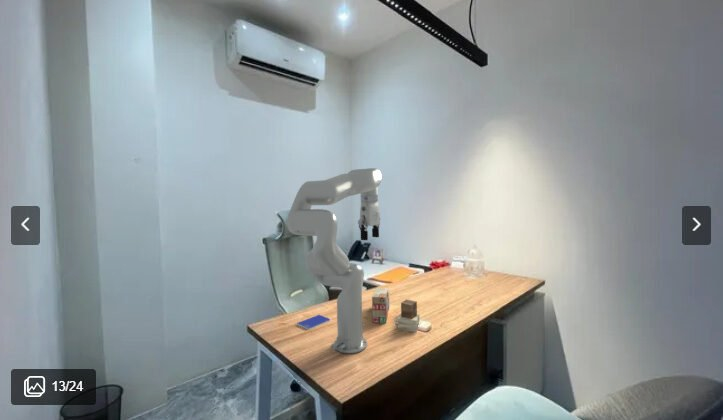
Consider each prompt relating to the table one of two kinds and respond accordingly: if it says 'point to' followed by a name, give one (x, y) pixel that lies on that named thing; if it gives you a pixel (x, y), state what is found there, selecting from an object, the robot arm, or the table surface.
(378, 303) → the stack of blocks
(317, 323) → the hard drive
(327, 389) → the table surface
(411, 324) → the grey stepped block
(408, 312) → the walnut block
